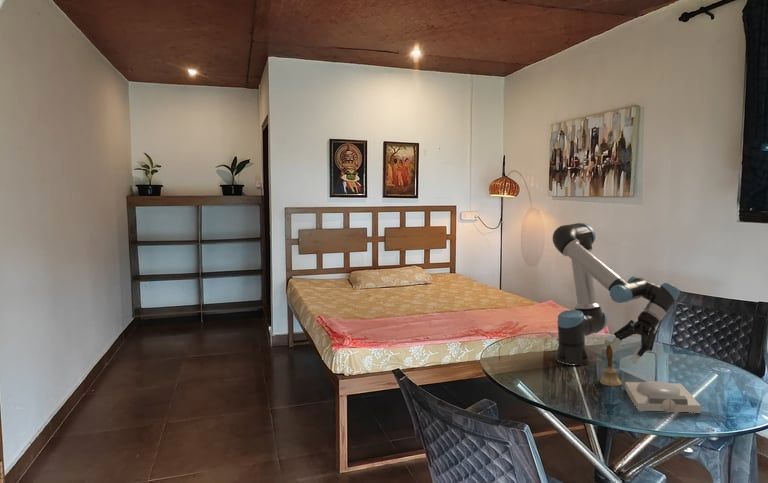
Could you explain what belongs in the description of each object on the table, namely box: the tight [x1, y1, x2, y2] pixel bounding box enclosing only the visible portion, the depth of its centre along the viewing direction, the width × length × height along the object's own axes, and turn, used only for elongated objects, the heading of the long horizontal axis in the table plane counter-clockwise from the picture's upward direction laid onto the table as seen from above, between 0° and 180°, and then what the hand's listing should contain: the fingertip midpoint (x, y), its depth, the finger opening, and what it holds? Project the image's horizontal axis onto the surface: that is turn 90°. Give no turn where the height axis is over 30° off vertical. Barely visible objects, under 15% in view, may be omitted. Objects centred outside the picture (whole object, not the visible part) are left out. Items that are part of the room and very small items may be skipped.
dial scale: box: [624, 380, 702, 414], centre depth 180 cm, size 20×20×5 cm
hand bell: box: [599, 344, 623, 387], centre depth 200 cm, size 8×8×16 cm
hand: (620, 356), depth 199 cm, fingers open, 13 cm apart
